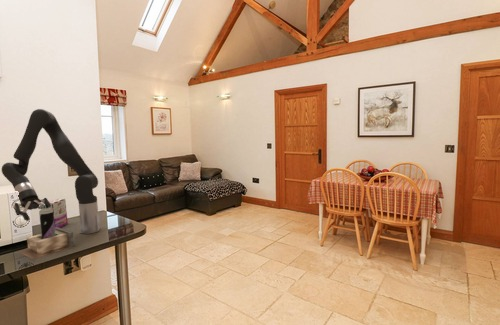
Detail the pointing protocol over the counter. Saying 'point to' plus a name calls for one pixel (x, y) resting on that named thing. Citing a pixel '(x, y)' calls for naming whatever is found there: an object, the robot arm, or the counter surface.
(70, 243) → the backstop board
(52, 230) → the spray can
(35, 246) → the socket block
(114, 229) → the counter surface
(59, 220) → the candy bar box
